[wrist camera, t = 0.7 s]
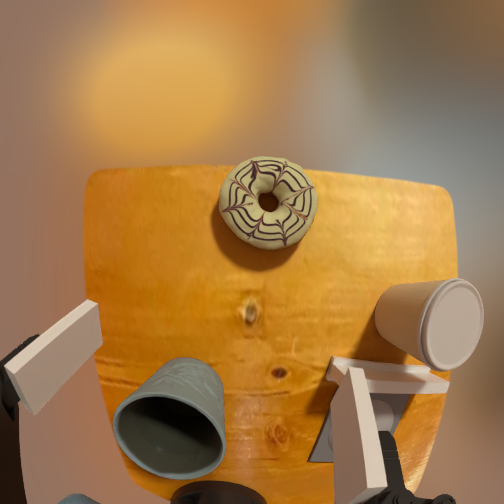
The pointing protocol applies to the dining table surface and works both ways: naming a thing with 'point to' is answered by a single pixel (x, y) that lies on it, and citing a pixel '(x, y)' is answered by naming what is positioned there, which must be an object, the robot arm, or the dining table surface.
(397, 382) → the low wall
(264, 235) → the decorated donut
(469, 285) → the coffee cup
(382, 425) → the resting mat
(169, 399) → the grey cup
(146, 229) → the dining table surface
